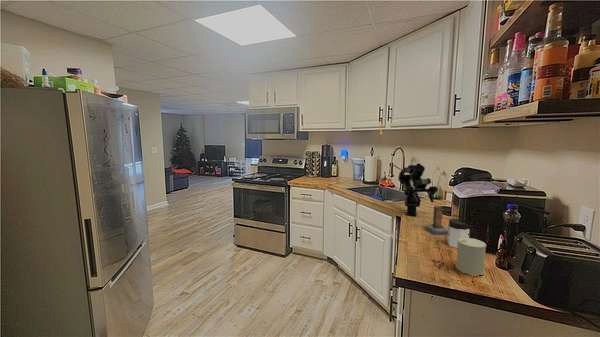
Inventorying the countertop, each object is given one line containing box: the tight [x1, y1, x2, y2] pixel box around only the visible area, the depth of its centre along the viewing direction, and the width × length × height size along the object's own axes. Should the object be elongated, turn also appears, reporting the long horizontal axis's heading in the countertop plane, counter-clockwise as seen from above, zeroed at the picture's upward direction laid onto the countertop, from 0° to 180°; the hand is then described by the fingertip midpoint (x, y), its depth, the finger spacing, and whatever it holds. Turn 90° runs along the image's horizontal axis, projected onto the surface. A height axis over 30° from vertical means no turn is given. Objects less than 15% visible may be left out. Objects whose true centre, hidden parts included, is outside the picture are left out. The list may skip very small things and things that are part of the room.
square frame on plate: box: [423, 223, 448, 236], centre depth 137 cm, size 10×10×3 cm
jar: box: [447, 218, 470, 249], centre depth 119 cm, size 9×8×12 cm
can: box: [455, 237, 487, 276], centre depth 96 cm, size 9×9×12 cm
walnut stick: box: [432, 205, 443, 228], centre depth 137 cm, size 3×3×13 cm
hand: (425, 202), depth 148 cm, fingers open, 9 cm apart
